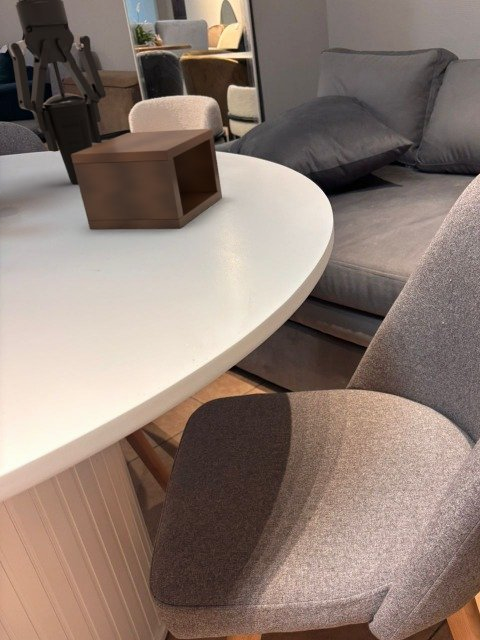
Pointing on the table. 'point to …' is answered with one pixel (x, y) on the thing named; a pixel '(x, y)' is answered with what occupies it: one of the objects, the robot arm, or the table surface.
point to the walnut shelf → (148, 179)
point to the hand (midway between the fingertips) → (75, 146)
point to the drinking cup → (69, 124)
